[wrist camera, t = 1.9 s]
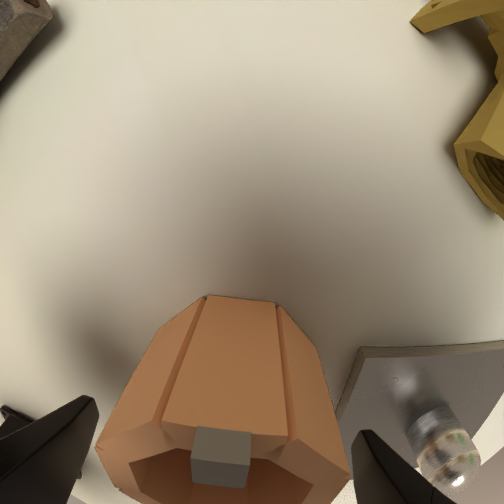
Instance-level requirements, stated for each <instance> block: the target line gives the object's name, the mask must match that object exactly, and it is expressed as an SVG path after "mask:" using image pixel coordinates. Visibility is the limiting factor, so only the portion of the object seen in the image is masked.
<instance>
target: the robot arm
mask: <svg viewBox="0 0 504 504" xmlns="http://www.w3.org/2000/svg"><path fill="white" fill-rule="evenodd" d="M0 411H1V413H2V415H3V417H4V419H5V421H4V423H3V424H2V425H1V426H0V504H66V503H67V501H68V498H69V496H70V493H71V491H72V489H73V486H74V484H75V481H76V479H81V477H82V475H81V473H80V470H81V467H82V465H83V463H84V461H85V458H86V456H87V454H88V451H89V448H90V445H91V442H92V438H93V435H94V432H95V429H96V426H97V422H98V419H99V412H98V409H97V405H96V402H95V400H94V398H92V397H89V396H86V395H82V396H80V397H78V398H76V399H75V400H73V401H71V402H69V403H67V404H66V405H64V406H62V407H60V408H58V409H57V410H55V411H53V412H51V413H49V414H47V415H46V416H44V417H42V418H40V419H38V420H36V421H34V422H33V423H32V422H31V421H29V420H27V419H25V418H23V417H21V416H20V415H18V414H16V413H14V412H13V411H11V410H9V409H8V408H6V407H4V406H2V407H1V408H0ZM351 455H352V468H353V481H354V489H355V494H356V499H357V504H457V503H455V502H454V501H452V500H451V499H449V498H448V497H447V496H446V495H444V494H443V493H442V492H441V491H439V490H438V489H437V488H436V487H435V486H433V485H432V484H431V483H430V482H429V481H428V480H427V479H425V478H424V477H423V476H422V475H421V474H420V473H419V472H418V471H416V470H415V469H414V468H413V467H412V466H411V465H410V464H409V463H408V462H406V461H405V460H404V459H403V458H402V457H401V456H400V455H399V454H398V453H397V452H395V451H394V450H393V449H392V448H391V447H390V446H389V445H388V444H387V443H386V442H385V441H384V440H382V439H381V438H380V437H379V436H378V435H377V434H376V433H375V432H374V431H373V430H371V429H364V430H360V431H359V432H358V434H357V435H356V437H355V439H354V441H353V443H352V445H351Z"/></svg>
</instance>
